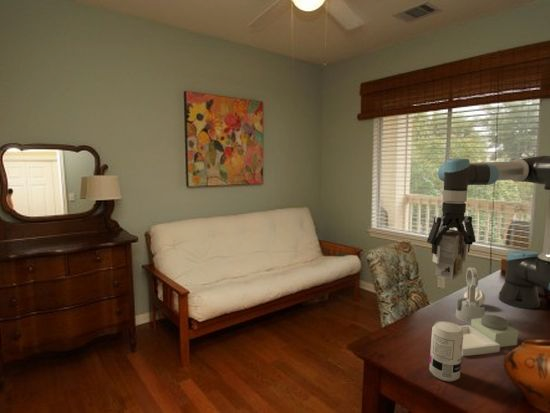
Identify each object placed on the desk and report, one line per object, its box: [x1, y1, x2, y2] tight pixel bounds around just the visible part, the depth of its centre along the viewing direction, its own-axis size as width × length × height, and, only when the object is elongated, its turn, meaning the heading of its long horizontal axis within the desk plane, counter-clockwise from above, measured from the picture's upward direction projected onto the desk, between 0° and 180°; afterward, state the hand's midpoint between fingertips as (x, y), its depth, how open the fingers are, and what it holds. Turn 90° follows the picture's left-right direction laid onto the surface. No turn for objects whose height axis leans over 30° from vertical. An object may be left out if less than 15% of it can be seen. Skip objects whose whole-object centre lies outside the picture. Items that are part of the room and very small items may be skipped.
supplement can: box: [429, 320, 463, 382], centre depth 102 cm, size 8×8×15 cm
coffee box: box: [435, 228, 464, 280], centre depth 127 cm, size 9×6×16 cm
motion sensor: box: [463, 287, 486, 307], centre depth 150 cm, size 8×8×8 cm
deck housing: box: [459, 314, 519, 357], centre depth 121 cm, size 24×14×7 cm, turn 101°
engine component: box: [455, 267, 486, 324], centre depth 139 cm, size 11×20×10 cm
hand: (449, 261), depth 127 cm, fingers closed on coffee box, 11 cm apart
